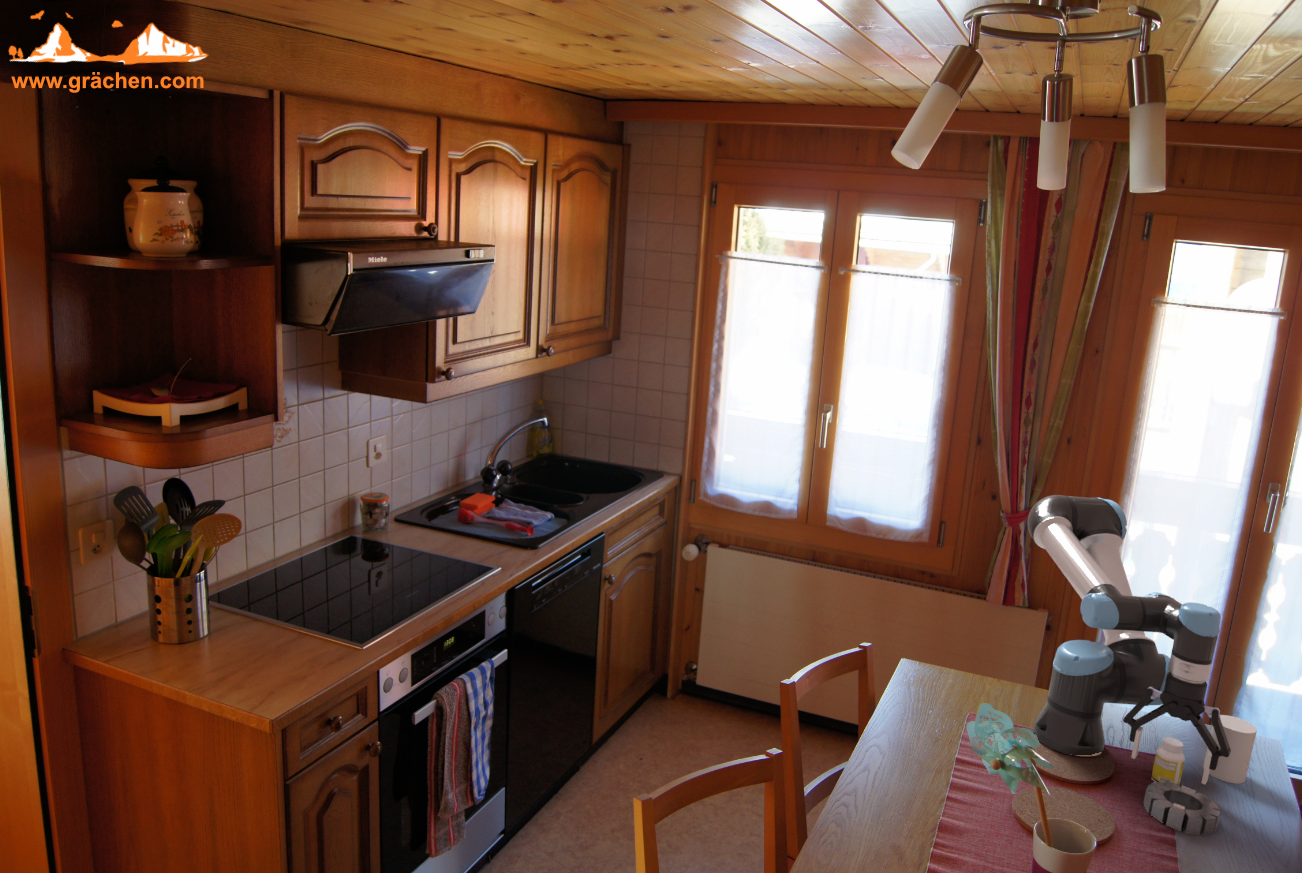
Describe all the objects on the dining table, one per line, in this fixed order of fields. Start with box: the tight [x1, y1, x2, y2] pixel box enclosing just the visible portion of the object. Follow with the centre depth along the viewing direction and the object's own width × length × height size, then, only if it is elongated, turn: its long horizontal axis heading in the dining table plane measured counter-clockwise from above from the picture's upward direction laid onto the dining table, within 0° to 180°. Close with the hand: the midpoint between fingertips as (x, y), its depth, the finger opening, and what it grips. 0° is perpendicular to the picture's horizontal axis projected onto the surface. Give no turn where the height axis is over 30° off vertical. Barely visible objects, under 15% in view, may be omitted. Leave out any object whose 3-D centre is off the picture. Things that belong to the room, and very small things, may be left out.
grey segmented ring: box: [1143, 782, 1221, 836], centre depth 189 cm, size 13×13×4 cm
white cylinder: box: [1203, 714, 1258, 784], centre depth 208 cm, size 8×8×12 cm
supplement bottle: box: [1150, 736, 1186, 787], centre depth 201 cm, size 5×5×10 cm
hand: (1168, 768), depth 201 cm, fingers open, 13 cm apart
